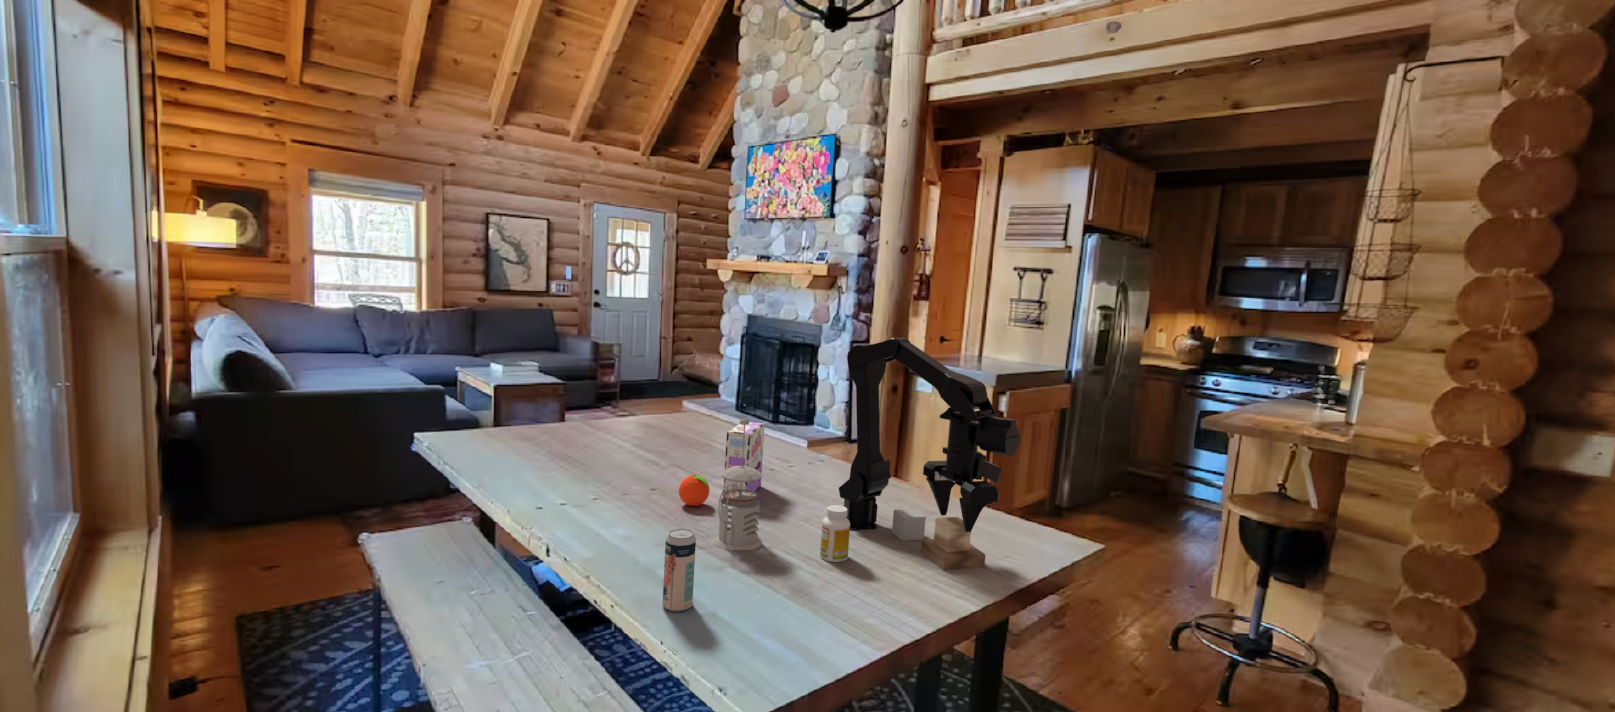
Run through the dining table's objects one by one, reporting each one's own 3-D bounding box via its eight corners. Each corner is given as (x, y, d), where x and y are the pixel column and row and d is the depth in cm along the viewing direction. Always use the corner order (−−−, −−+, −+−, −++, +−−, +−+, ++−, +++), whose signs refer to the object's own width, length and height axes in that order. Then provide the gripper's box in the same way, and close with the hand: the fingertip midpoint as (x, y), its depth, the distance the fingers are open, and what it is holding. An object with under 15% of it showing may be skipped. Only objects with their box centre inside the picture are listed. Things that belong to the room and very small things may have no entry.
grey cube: (902, 541, 145) (904, 517, 144) (891, 532, 150) (893, 509, 149) (923, 539, 146) (925, 516, 146) (912, 531, 151) (914, 508, 151)
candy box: (746, 502, 162) (750, 433, 161) (722, 499, 164) (725, 430, 162) (761, 486, 176) (765, 422, 174) (739, 483, 177) (743, 419, 175)
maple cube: (946, 552, 134) (949, 527, 133) (933, 542, 138) (935, 518, 138) (969, 550, 135) (971, 525, 135) (955, 540, 140) (957, 516, 139)
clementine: (718, 506, 159) (720, 475, 158) (698, 513, 153) (700, 482, 152) (692, 498, 163) (693, 468, 162) (671, 505, 157) (672, 474, 156)
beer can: (664, 598, 112) (667, 527, 111) (693, 599, 113) (697, 528, 111) (660, 613, 108) (663, 538, 106) (691, 613, 108) (695, 539, 107)
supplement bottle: (850, 554, 136) (854, 506, 134) (843, 564, 130) (847, 514, 129) (824, 549, 137) (828, 501, 136) (816, 559, 132) (819, 509, 131)
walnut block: (942, 572, 131) (944, 557, 131) (920, 554, 140) (921, 539, 139) (984, 569, 134) (985, 554, 134) (959, 551, 143) (961, 537, 142)
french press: (771, 539, 141) (778, 418, 138) (742, 558, 130) (749, 427, 128) (729, 529, 145) (736, 411, 142) (698, 546, 134) (704, 419, 132)
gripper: (1027, 456, 128) (1019, 538, 130) (972, 433, 146) (965, 505, 147) (975, 458, 124) (967, 542, 126) (925, 434, 142) (918, 508, 144)
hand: (955, 523), depth 136 cm, fingers open, 9 cm apart
